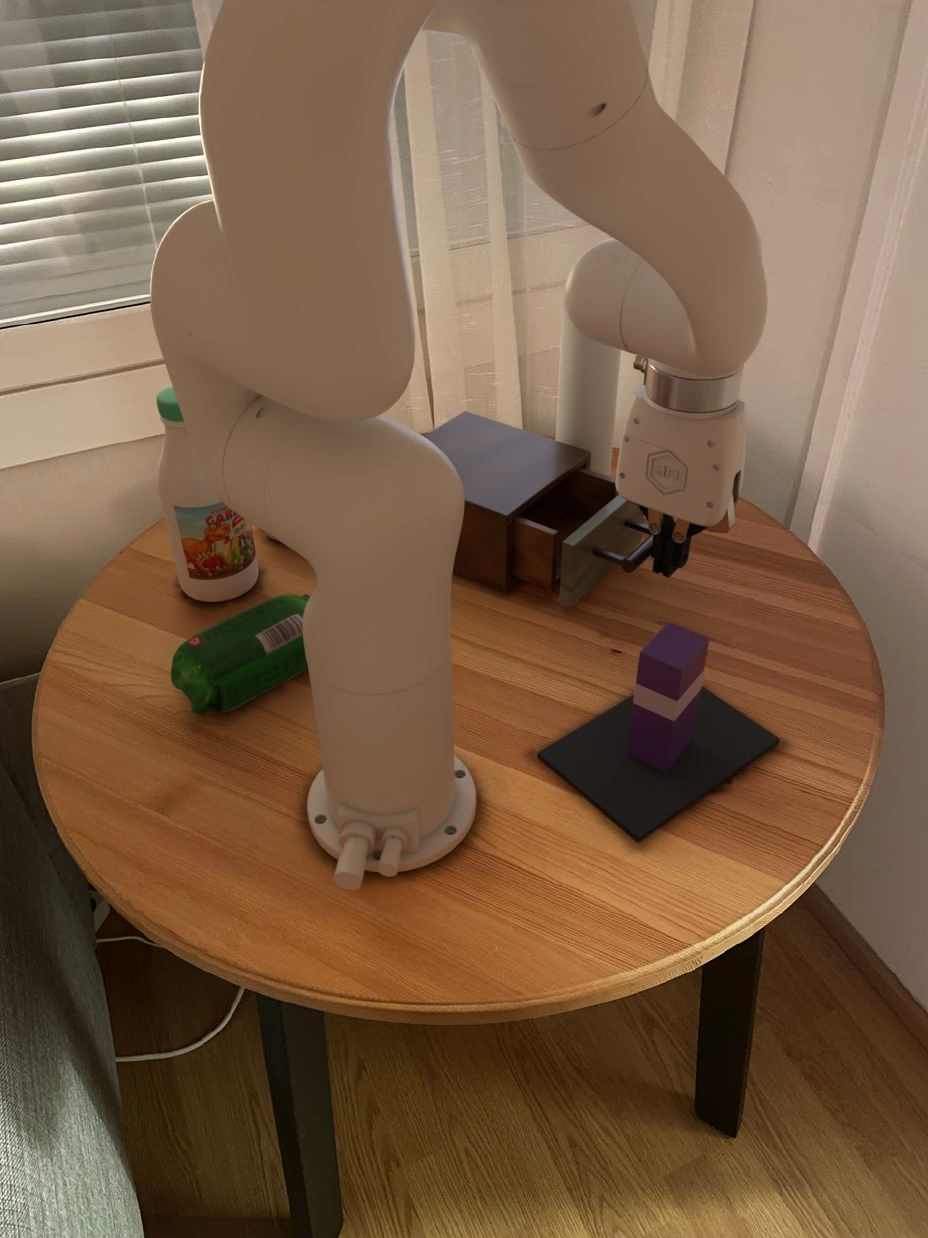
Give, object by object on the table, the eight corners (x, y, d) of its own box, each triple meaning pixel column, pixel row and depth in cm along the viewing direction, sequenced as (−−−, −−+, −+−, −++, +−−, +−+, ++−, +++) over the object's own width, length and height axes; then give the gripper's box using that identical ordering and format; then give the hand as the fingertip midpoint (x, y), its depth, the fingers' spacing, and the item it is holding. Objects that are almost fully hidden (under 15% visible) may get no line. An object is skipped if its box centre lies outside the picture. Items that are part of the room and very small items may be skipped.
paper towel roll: (595, 515, 107) (610, 321, 94) (543, 502, 110) (551, 310, 96) (620, 485, 112) (638, 296, 99) (571, 472, 114) (582, 286, 101)
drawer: (681, 556, 99) (690, 496, 95) (612, 625, 91) (618, 562, 87) (521, 498, 108) (523, 440, 104) (445, 556, 100) (443, 496, 96)
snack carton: (653, 722, 81) (667, 620, 75) (692, 740, 80) (710, 637, 73) (626, 755, 79) (638, 651, 72) (666, 774, 77) (682, 670, 70)
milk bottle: (166, 598, 97) (119, 408, 84) (201, 554, 102) (162, 370, 90) (240, 609, 95) (204, 416, 83) (271, 564, 101) (242, 377, 89)
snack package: (359, 654, 90) (355, 607, 87) (205, 736, 82) (193, 688, 78) (314, 618, 94) (308, 572, 91) (163, 693, 86) (150, 646, 83)
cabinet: (586, 525, 106) (591, 451, 100) (505, 594, 96) (506, 515, 91) (466, 481, 113) (464, 410, 108) (380, 541, 104) (374, 466, 99)
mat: (638, 843, 72) (638, 838, 72) (536, 757, 79) (537, 752, 79) (779, 744, 80) (780, 738, 80) (675, 673, 87) (676, 668, 87)
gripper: (589, 375, 82) (577, 559, 94) (760, 424, 75) (724, 618, 86) (634, 345, 87) (618, 524, 98) (799, 388, 80) (761, 576, 91)
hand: (667, 567), depth 92 cm, fingers closed
